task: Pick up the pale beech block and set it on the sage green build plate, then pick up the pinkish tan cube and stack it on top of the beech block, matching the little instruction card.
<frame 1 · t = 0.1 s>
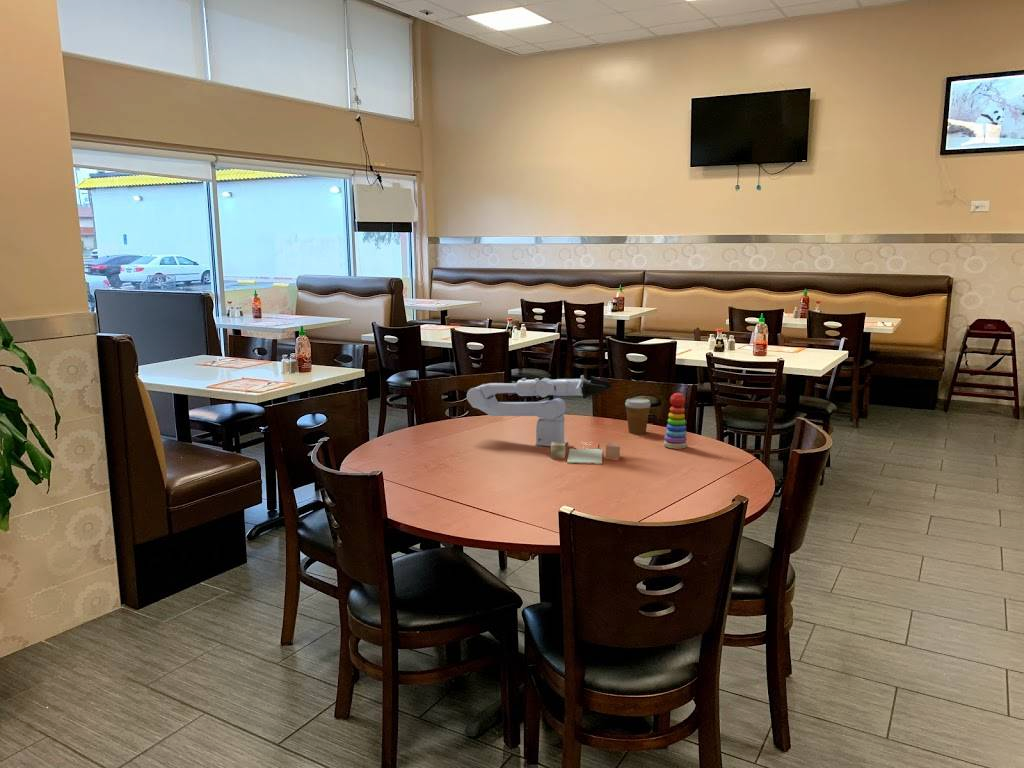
hand: (608, 386, 255), 22 cm above the table, tool horizontal, fingers open, 7 cm apart
beech block: (558, 456, 250), on the table
pinkish tan cube: (612, 458, 248), on the table
disposable coffee cup: (637, 432, 283), on the table
instruction card: (587, 447, 261), on the table
build plate: (585, 457, 249), on the table
stacking toy: (675, 447, 262), on the table
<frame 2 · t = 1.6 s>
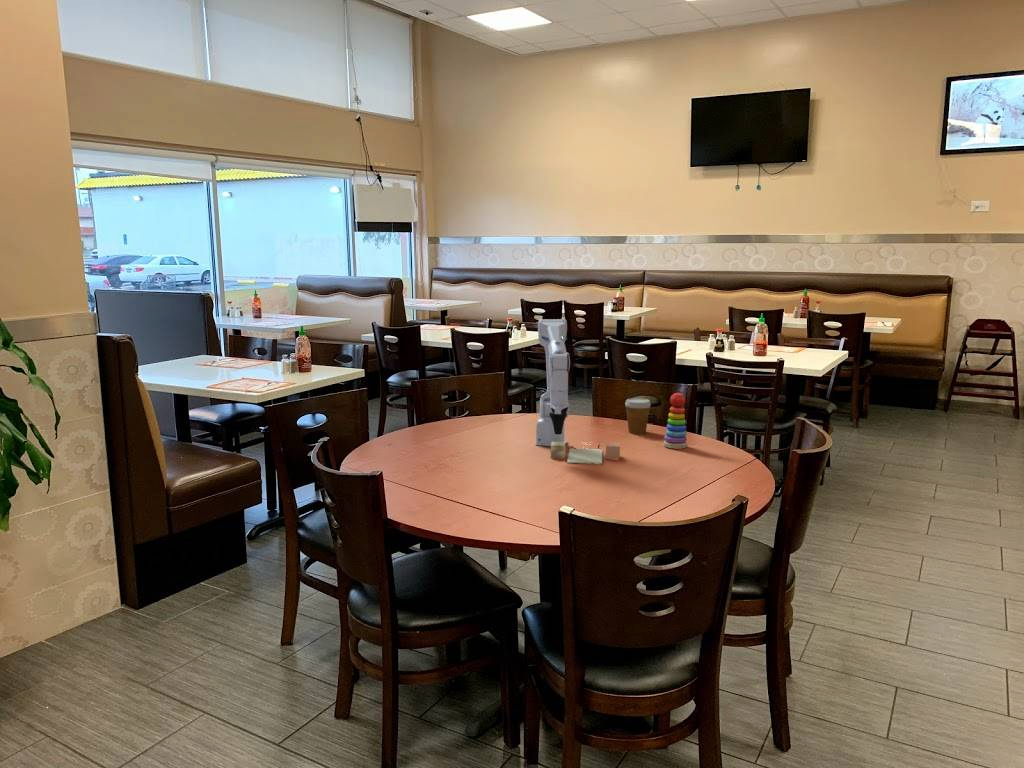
hand: (558, 431, 249), 8 cm above the table, tool pointing down, fingers open, 7 cm apart
nothing on the table moved.
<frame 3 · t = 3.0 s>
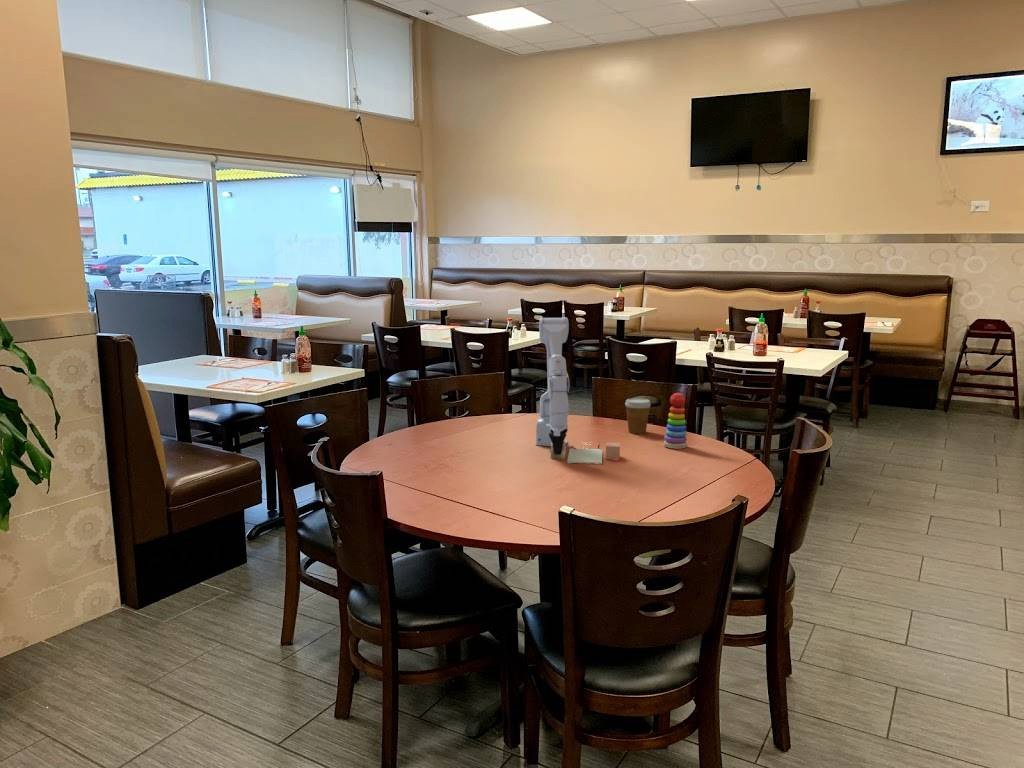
hand: (558, 452, 250), 1 cm above the table, tool pointing down, fingers closed on beech block, 4 cm apart
beech block: (558, 456, 250), on the table, touching gripper
everything else where it was.
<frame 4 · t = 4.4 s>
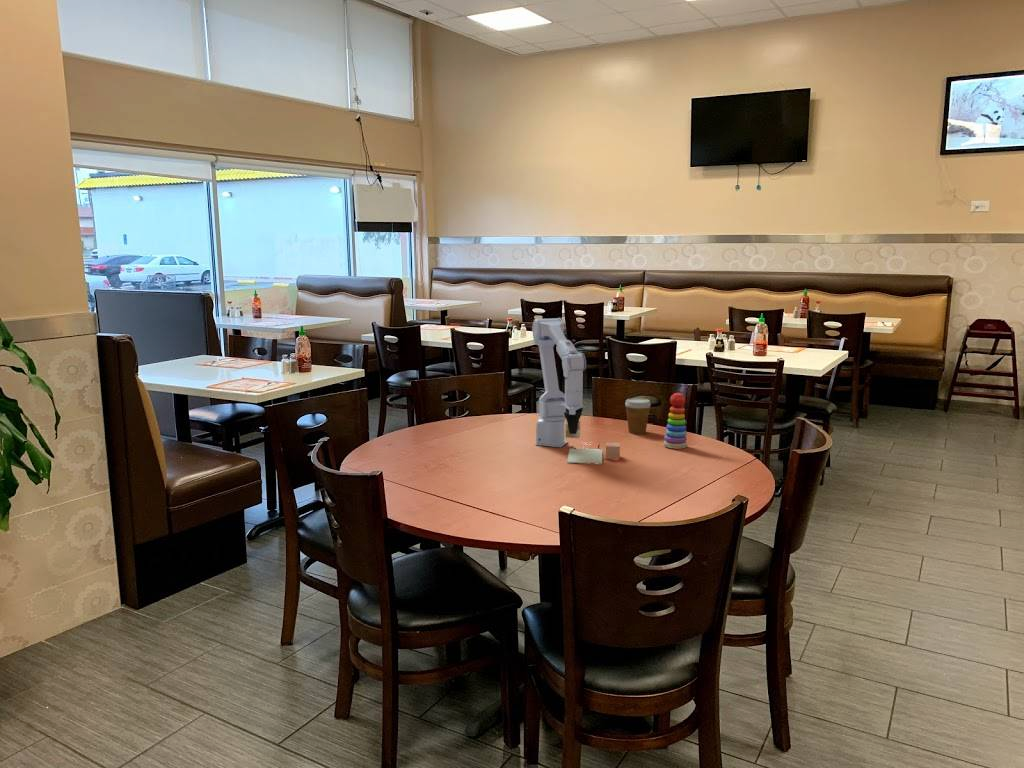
hand: (573, 431, 248), 8 cm above the table, tool pointing down, fingers closed on beech block, 4 cm apart
beech block: (572, 436, 248), point 7 cm above the table, touching gripper
everything else where it was.
when the fingers open (3 cm above the table, at t = 6.1 s): beech block stays where it is, resting on build plate.
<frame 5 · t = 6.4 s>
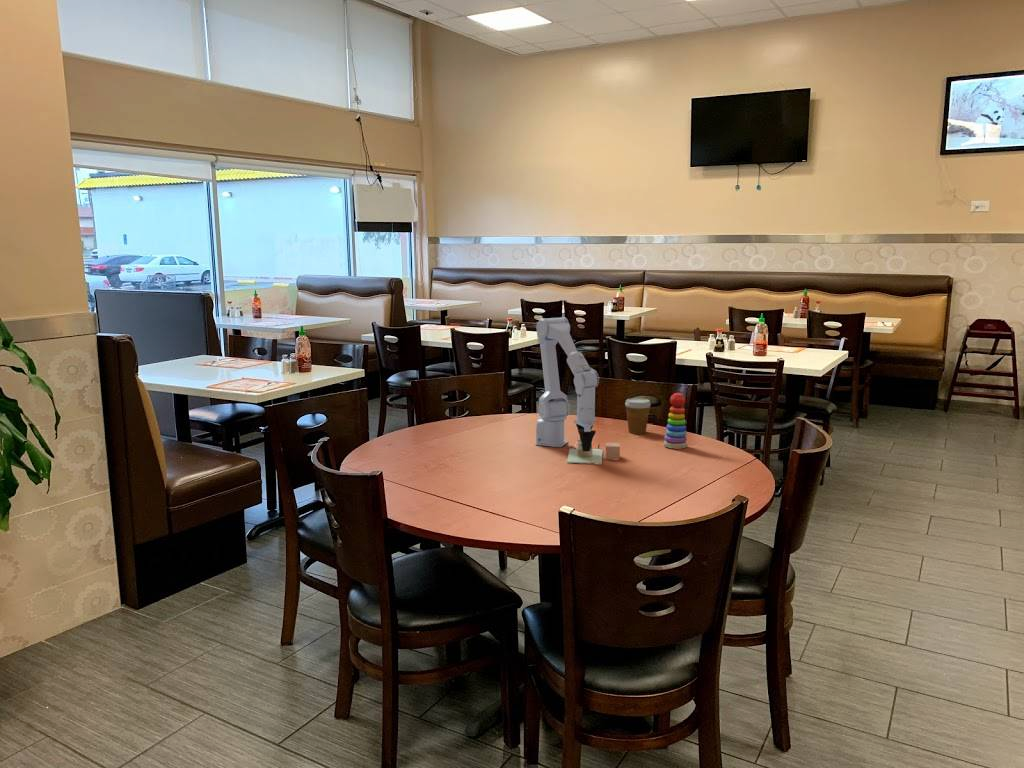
hand: (585, 448, 249), 3 cm above the table, tool pointing down, fingers open, 7 cm apart
beech block: (584, 455, 249), point 1 cm above the table, touching build plate
everything else where it was.
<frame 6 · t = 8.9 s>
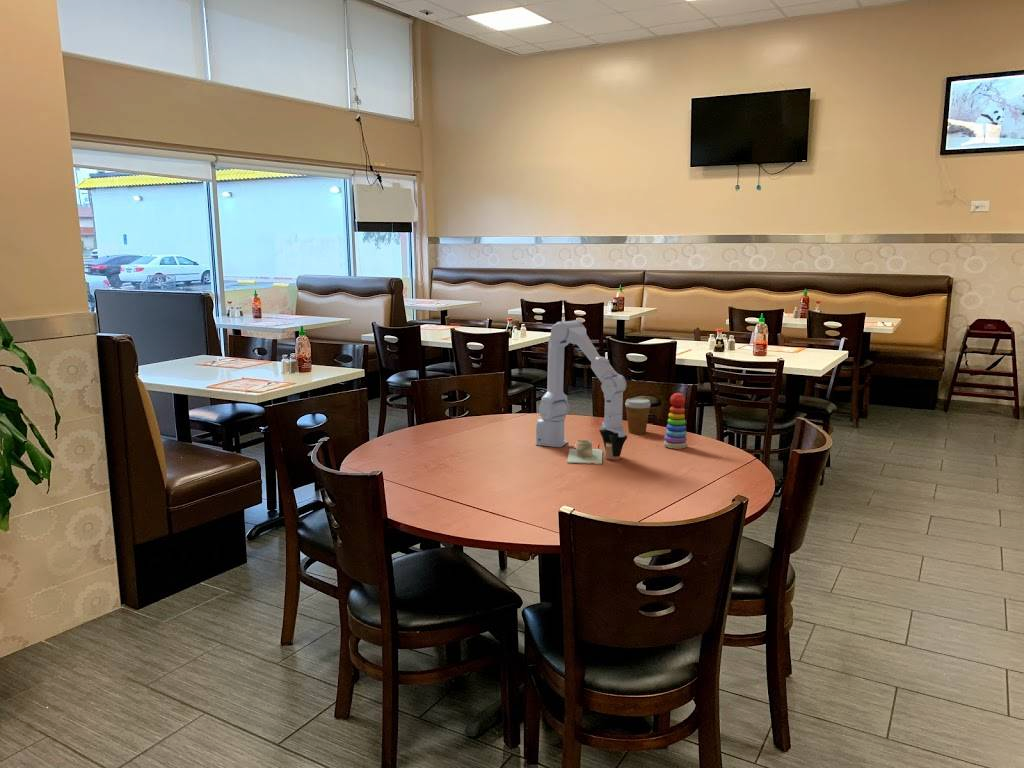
hand: (612, 453, 248), 1 cm above the table, tool pointing down, fingers closed on pinkish tan cube, 6 cm apart
pinkish tan cube: (612, 457, 248), on the table, touching gripper
everything else where it was.
when the fingers open (8 cm above the table, at t = 11.8 s): pinkish tan cube stays where it is, resting on beech block.
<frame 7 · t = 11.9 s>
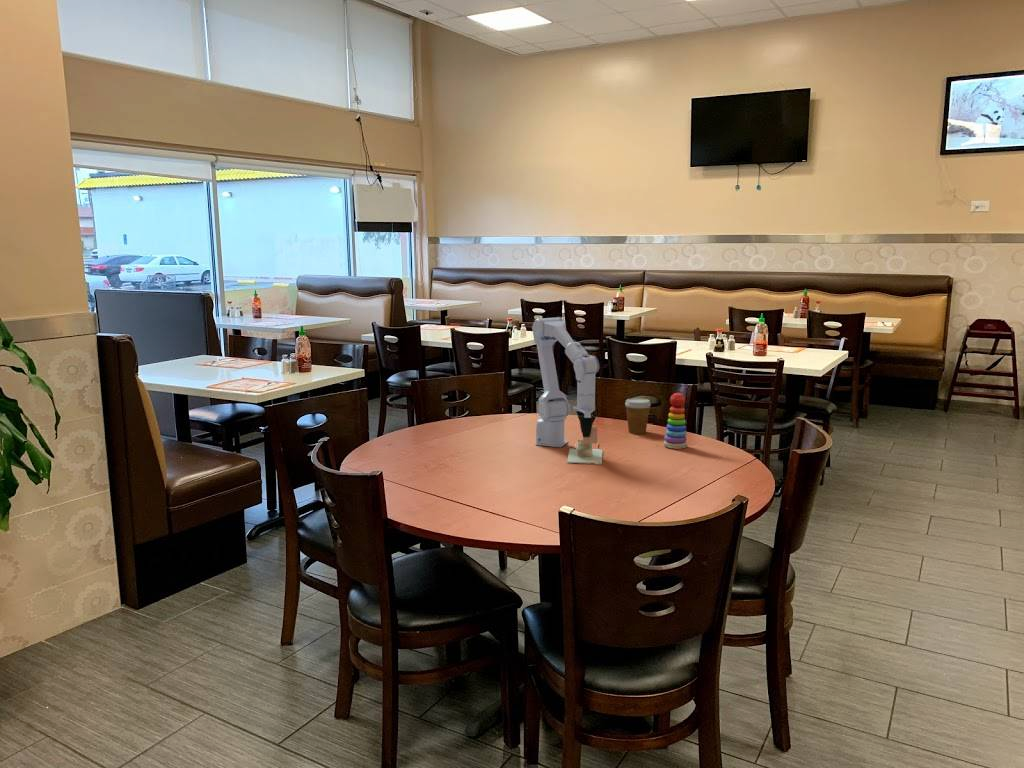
hand: (585, 434, 248), 8 cm above the table, tool pointing down, fingers open, 5 cm apart
beech block: (584, 455, 249), point 1 cm above the table, touching build plate, pinkish tan cube
pinkish tan cube: (590, 442, 248), point 5 cm above the table, touching beech block
everything else where it was.
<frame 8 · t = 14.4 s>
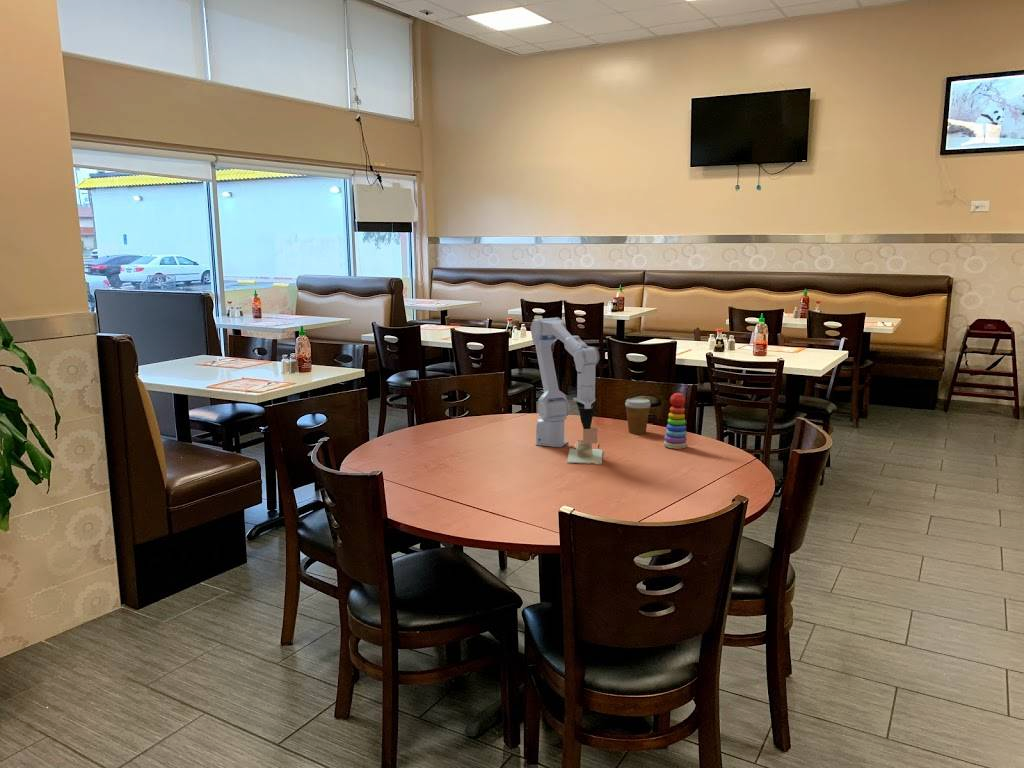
hand: (585, 426, 247), 10 cm above the table, tool pointing down, fingers open, 7 cm apart
nothing on the table moved.
at the end: beech block 0.2 cm off-centre on the build plate, point 0.6 cm above the build plate's base; pinkish tan cube 1.8 cm off-centre on the beech block, point 4.5 cm above the beech block's base; pinkish tan cube tilted 0° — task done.
